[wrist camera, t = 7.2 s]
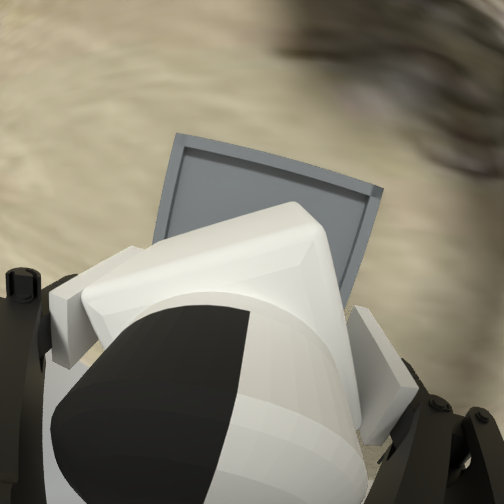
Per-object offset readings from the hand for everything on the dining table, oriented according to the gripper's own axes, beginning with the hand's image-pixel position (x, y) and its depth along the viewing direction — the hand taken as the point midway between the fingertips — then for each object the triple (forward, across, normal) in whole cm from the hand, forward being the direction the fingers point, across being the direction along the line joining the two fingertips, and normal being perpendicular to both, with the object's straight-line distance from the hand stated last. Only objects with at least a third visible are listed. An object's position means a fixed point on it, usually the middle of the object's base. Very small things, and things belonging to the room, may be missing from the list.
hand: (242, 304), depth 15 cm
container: (+2, 0, 0) cm, 2 cm away
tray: (+7, 0, 0) cm, 7 cm away
